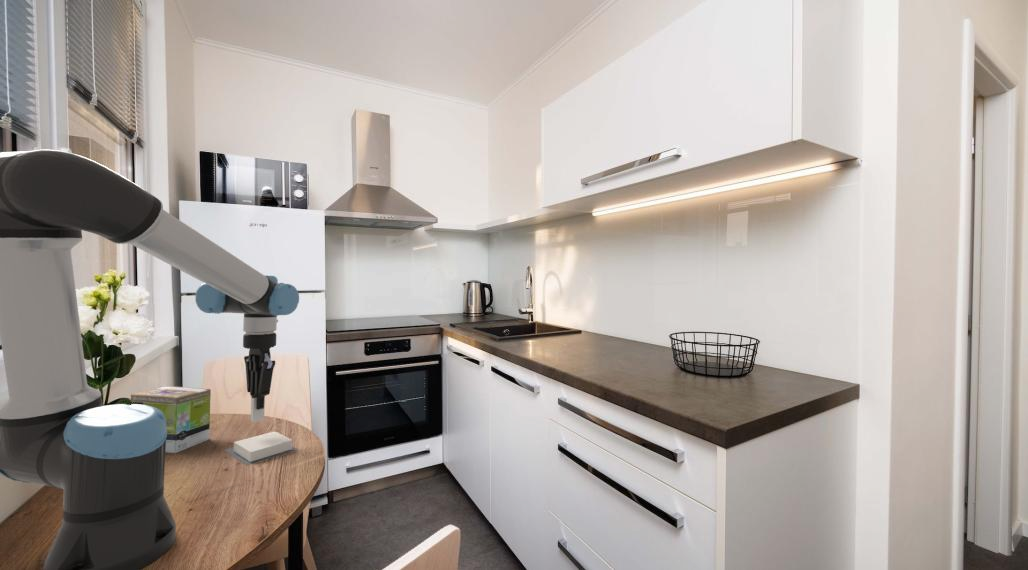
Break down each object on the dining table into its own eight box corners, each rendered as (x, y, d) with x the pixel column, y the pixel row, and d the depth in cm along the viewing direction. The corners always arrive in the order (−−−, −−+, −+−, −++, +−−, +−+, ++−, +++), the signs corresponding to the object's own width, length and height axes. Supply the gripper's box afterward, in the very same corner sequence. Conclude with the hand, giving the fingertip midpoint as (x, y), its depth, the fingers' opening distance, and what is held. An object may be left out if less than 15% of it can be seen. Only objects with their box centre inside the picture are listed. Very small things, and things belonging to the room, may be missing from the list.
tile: (233, 452, 103) (250, 462, 98) (233, 442, 103) (250, 452, 98) (274, 440, 111) (292, 449, 106) (274, 431, 111) (292, 440, 106)
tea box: (210, 440, 112) (212, 388, 112) (174, 455, 102) (176, 397, 102) (166, 435, 114) (168, 384, 114) (126, 449, 104) (128, 393, 104)
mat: (246, 467, 96) (246, 465, 96) (223, 451, 104) (223, 450, 104) (297, 451, 106) (297, 449, 106) (272, 438, 114) (272, 436, 114)
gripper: (286, 333, 106) (283, 422, 106) (264, 329, 113) (261, 412, 113) (255, 335, 100) (252, 429, 100) (234, 331, 107) (231, 418, 107)
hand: (257, 420), depth 107 cm, fingers closed
